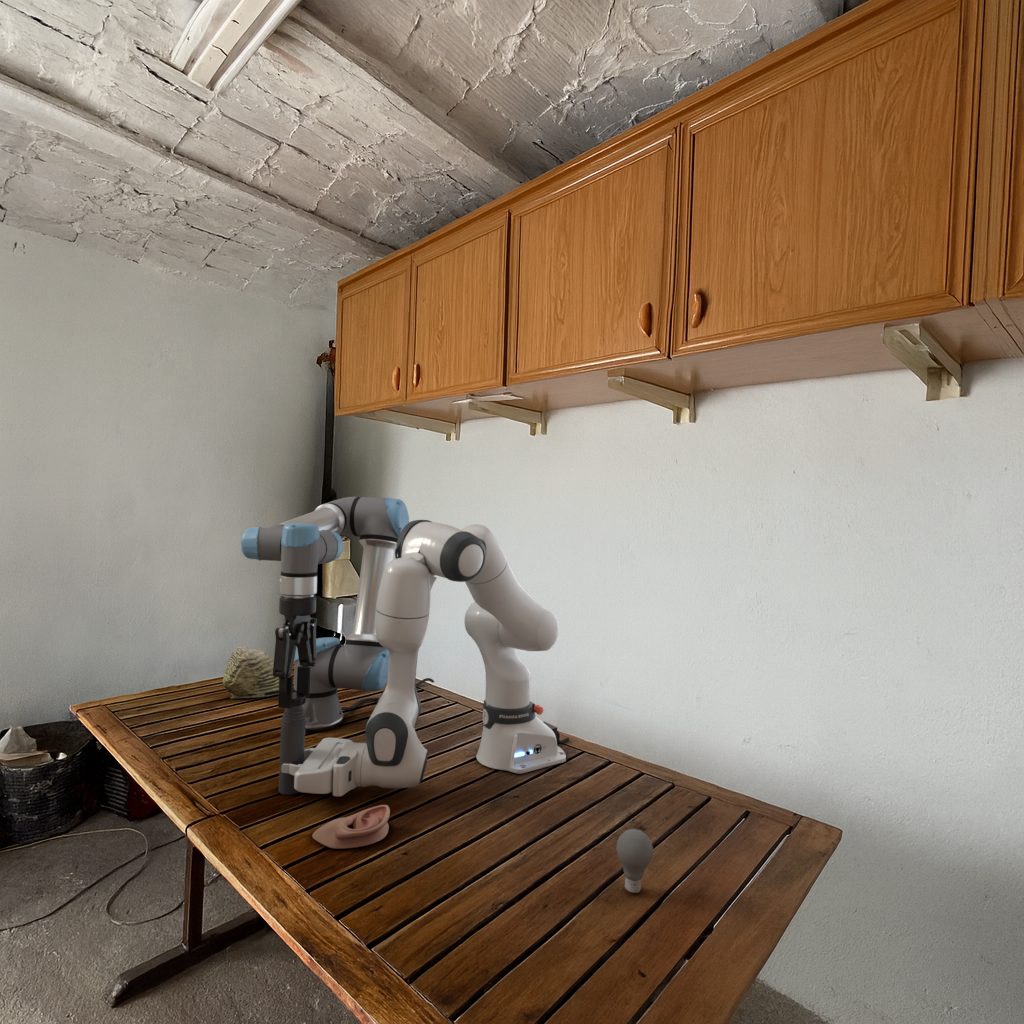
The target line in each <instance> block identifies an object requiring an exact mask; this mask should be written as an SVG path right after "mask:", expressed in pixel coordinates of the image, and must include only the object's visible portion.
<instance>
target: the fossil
mask: <svg viewBox="0 0 1024 1024" xmlns="http://www.w3.org/2000/svg"><path fill="white" fill-rule="evenodd" d="M273 665H274V659H272V658H271V657H270V656H269V655H268V654H267V653H266V652H265V650H264V649H263V648H260V647H258V648H251V647H247V646H246V647H245V646H238V647H237V648H236V649H235V650H233V651H232V653H231V656H230V657H229V659H228V660H227V663H226V666H225V668H224V671H223V675H222V676H223V677H222V685H223V687H224V688H225V690H226V691H228V693H229V698H230V699H250V698H264V697H271V696H275V695H279V677H275V676H273Z"/></svg>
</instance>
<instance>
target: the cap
mask: <svg viewBox="0 0 1024 1024" xmlns="http://www.w3.org/2000/svg"><path fill="white" fill-rule="evenodd" d="M305 702H306V695H305V694H304V693H299V692H294V691H293V693H292V707H293V706H300V705H303V704H305Z"/></svg>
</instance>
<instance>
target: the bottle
mask: <svg viewBox="0 0 1024 1024" xmlns="http://www.w3.org/2000/svg"><path fill="white" fill-rule="evenodd" d="M282 714H283V715H282V717H281V721H280V740H279V741H280V744H279V767H278V770H279V771H278V793H280V794H282V795H286V796H287V795H288V796H289V795H291V796H292V795H296V794H299V793H300V792H299V791H297V790H295V789H294V776H293V775H291V774H289V773H282V772H281V766H282V765H283V764H284V762H292V764H295V765H298V764H303V763H304V762H305V759H304V751H305V749H306V747H305V746H306V732H305V725H306V720H305V714H304V711H303V708H302V705H300V706H293V707H292V708H284V712H283V713H282Z"/></svg>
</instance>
